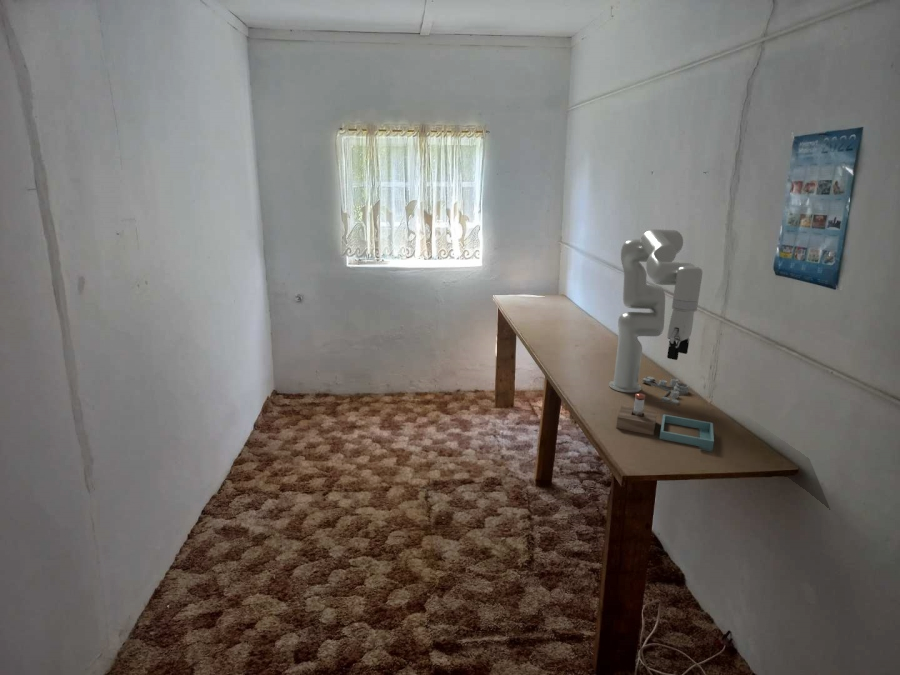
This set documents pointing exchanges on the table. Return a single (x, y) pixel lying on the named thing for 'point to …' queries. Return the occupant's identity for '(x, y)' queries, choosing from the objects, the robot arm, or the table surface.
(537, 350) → the table surface
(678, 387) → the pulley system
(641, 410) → the pin
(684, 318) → the robot arm
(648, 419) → the block
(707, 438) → the tray
